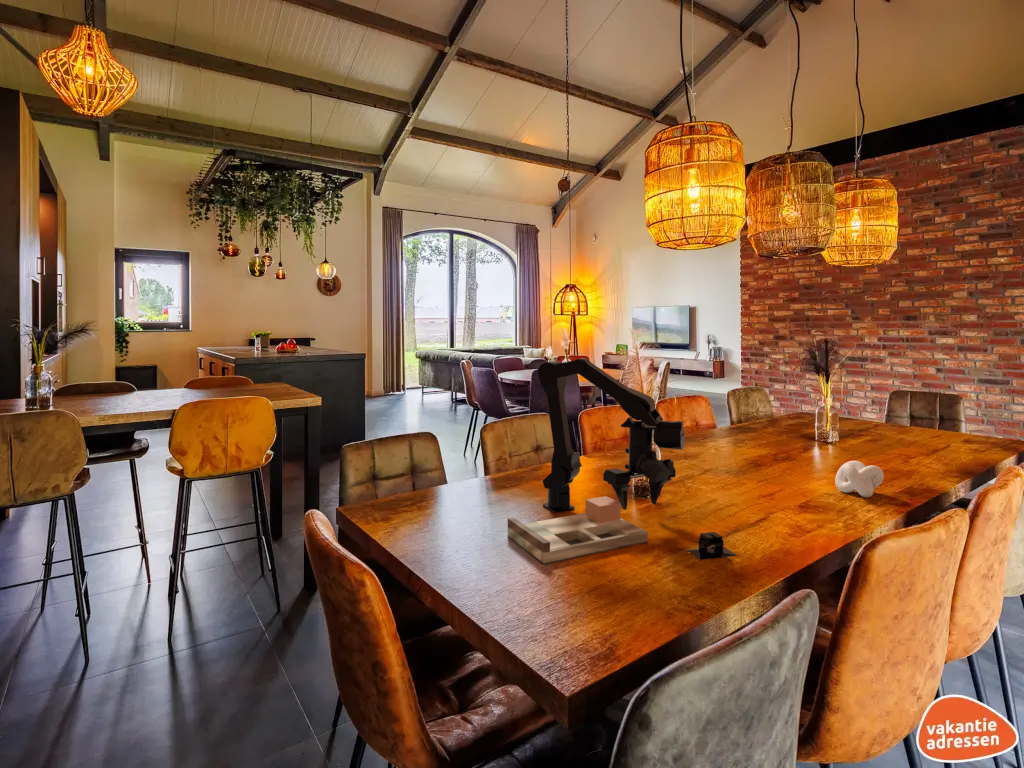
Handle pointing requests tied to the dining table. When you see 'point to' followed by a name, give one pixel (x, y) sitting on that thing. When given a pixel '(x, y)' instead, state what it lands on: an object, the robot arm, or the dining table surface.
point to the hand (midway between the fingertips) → (639, 506)
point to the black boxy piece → (708, 551)
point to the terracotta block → (603, 509)
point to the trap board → (573, 537)
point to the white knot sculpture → (858, 478)
